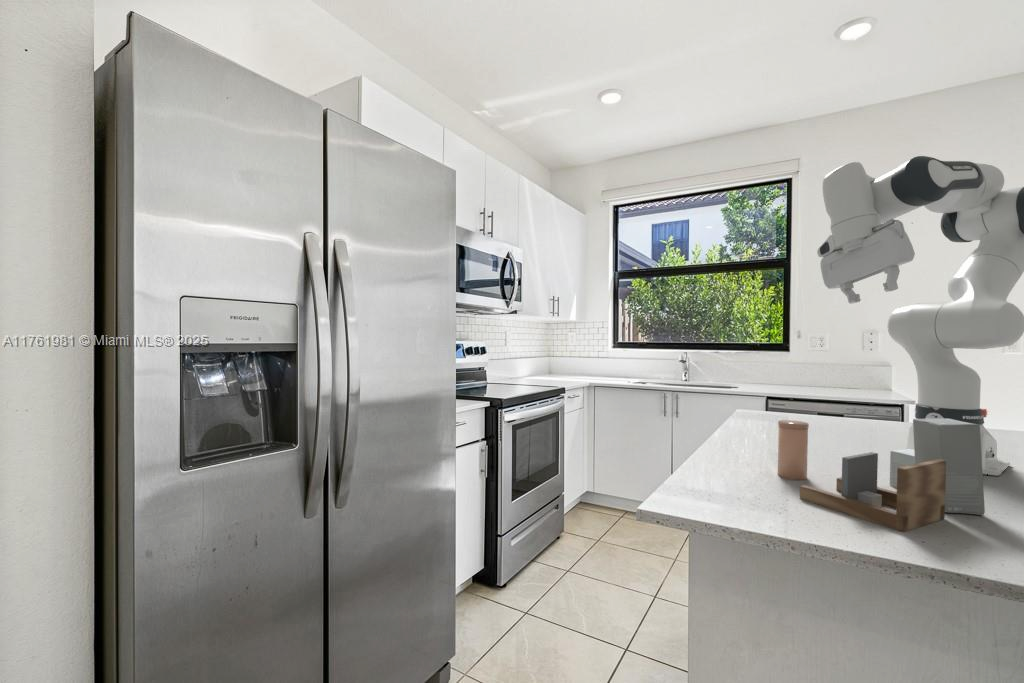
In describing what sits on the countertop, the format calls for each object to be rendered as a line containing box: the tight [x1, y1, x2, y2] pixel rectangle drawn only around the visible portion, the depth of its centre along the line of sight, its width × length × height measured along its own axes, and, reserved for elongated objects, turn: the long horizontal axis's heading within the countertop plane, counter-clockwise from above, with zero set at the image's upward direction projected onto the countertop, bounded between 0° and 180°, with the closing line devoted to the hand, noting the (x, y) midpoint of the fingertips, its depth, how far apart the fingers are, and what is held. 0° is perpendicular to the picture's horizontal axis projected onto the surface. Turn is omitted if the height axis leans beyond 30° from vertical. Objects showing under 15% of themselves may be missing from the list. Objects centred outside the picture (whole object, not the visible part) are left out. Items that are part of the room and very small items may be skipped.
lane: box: [799, 459, 946, 533], centre depth 88 cm, size 13×17×10 cm
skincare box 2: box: [912, 418, 986, 516], centre depth 89 cm, size 8×7×16 cm
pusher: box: [841, 451, 883, 508], centre depth 88 cm, size 9×3×9 cm, turn 116°
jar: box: [777, 419, 810, 481], centre depth 107 cm, size 6×6×12 cm
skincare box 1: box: [889, 448, 915, 488], centre depth 99 cm, size 6×6×7 cm
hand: (872, 296), depth 104 cm, fingers open, 8 cm apart
